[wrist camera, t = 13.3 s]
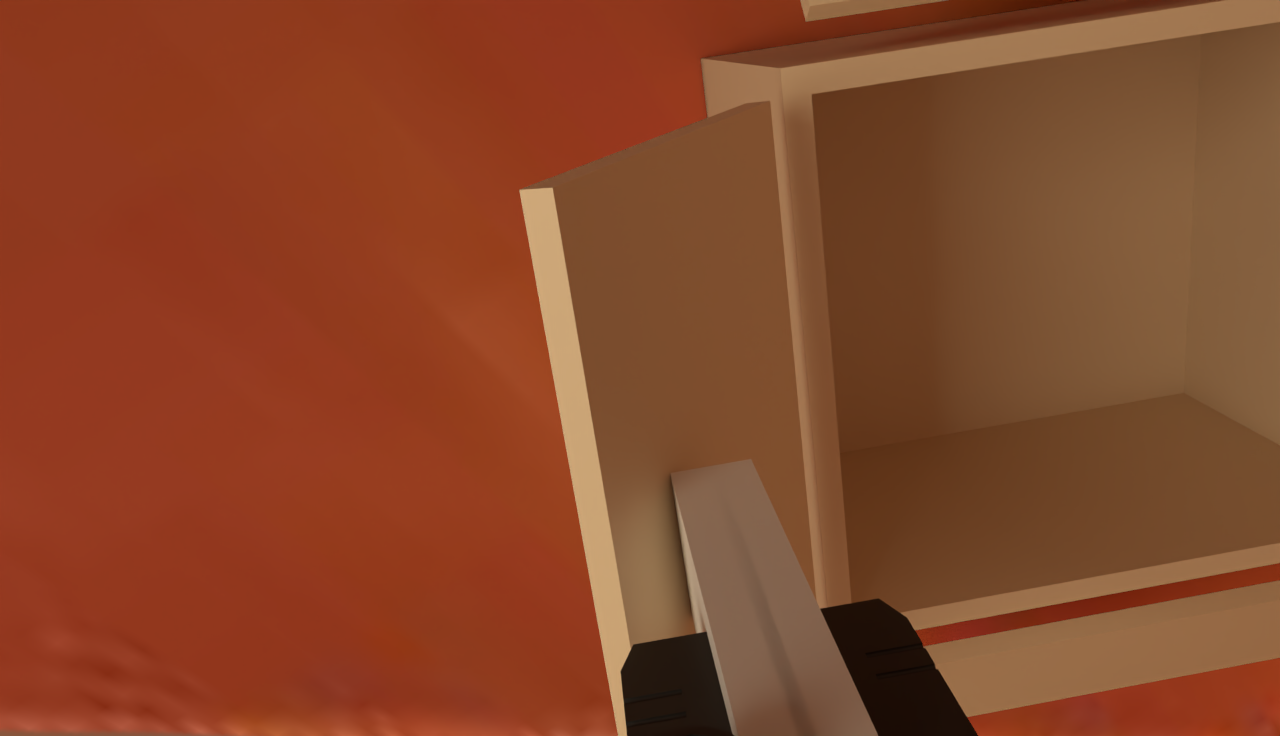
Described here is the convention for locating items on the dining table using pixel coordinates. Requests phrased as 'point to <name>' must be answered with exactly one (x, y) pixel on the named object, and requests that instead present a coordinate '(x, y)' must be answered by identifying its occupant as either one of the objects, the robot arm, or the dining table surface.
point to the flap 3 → (1112, 649)
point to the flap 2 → (852, 7)
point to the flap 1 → (667, 354)
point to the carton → (1031, 299)
